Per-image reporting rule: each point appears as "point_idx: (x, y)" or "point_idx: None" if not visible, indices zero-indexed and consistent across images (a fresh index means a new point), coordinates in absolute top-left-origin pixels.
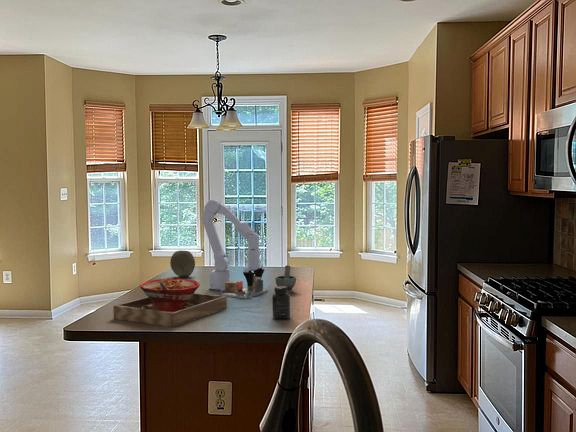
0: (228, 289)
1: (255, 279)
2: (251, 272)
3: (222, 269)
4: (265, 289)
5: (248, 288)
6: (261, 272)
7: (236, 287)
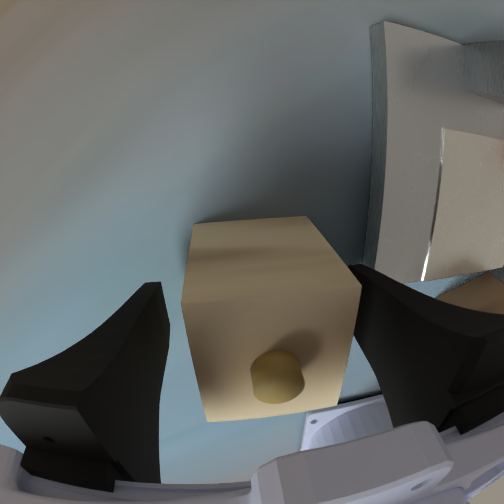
0: None
1: (352, 284)
2: (470, 386)
3: (468, 502)
4: (398, 40)
5: (413, 251)
6: (105, 378)
7: (490, 304)
